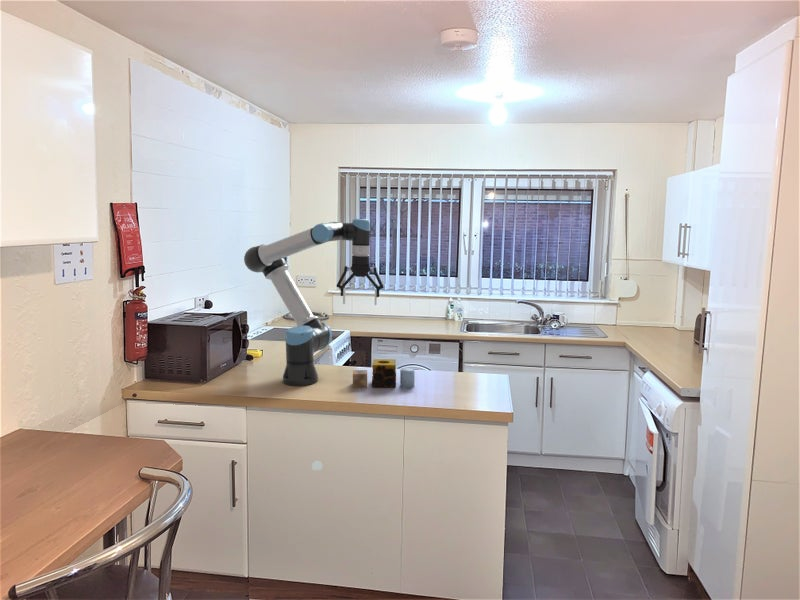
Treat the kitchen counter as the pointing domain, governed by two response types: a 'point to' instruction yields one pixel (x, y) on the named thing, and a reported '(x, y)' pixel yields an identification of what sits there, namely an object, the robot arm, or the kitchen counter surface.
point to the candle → (384, 373)
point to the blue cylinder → (407, 378)
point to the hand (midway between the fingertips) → (359, 304)
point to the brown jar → (359, 378)
